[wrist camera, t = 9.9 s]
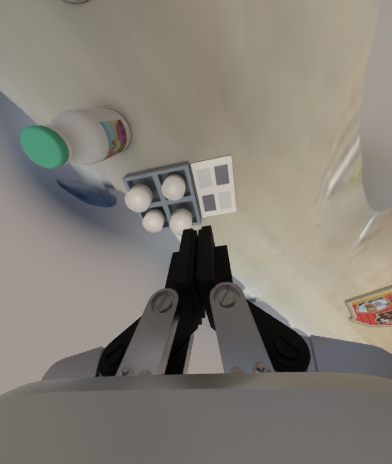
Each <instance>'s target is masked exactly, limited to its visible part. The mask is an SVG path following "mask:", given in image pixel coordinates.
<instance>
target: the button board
mask: <svg viewBox="0 0 392 464" xmlns="http://www.w3.org/2000/svg"><path fill="white" fill-rule="evenodd" d="M172 173H177V174H180V175H181V176H182V177H183V178H184V179H185V181H186V188H185V193H184V195H183V197H182V198H181V199H179V200H176V201H172V200H169V199H167V198H166V197H165V196H164V195H163V193H162V189H161V188H162V184H163V182H164V180H165V179H166V177H167V176H168V175H170V174H172ZM123 182H124V184H125V186H126V188H127V190H128V191H129V190H130V189H131V188H132V187H133V186H134V185H137V184H143V185H146V186H147V187H149V188H150V190H151V191H152V194H153V200H152V202H151V203H150V205H149V207H148V209H147V210H146V211H144V212H137V213H138V215H139V217H140V219H141V221H143V218H144V217H145V215H146V213H147V211H148V210H149V209H152V208H159V209H161V210H162V211H163V213H164V214H165V221H164V224H163V227H162V229H161V230H166V229H170V226H169V223H170V220H171V216H172V214H173V212H174V211H175V210H177V209H180V208H184V209H187V210H188V211H189V212H190V213H191V214H192V225H198V224H201V216H200V212H199V207H198V203H197V198H196V194H195V190H194V185H193V181H192V176H191V172H190V167H189V163H188V162H184V163H179V164H175V165H170V166H165V167H161V168H156V169H152V170H147V171H142V172H138V173H133V174H128V175H126V176H125V177H124V178H123ZM145 230H146V229H145ZM146 232H150V231H148V230H146Z"/></svg>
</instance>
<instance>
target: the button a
mask: <svg viewBox="0 0 392 464" xmlns="http://www.w3.org/2000/svg"><path fill="white" fill-rule="evenodd" d="M152 200H153V194H152V191H151V190H150V188H149V187H147V186H146V185H143V184H137V185H134V186H133V187H132V188H131V189H130V190H129V191H128V193H127V194H126V195H125V203H126V205H127V206H128V208H129V209H131V210H132V211H134V212H144V211H146V210H147V209H148V207H149V205H150V203H151V202H152Z"/></svg>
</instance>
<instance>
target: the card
mask: <svg viewBox="0 0 392 464" xmlns="http://www.w3.org/2000/svg"><path fill="white" fill-rule="evenodd" d="M191 168H192V172H193V177H194V182H195V186H196V191H197V195H198V200H199V204H200V209H201V213H202V217H208V216H214V215H220V214H226V213H233V212H236V202H235V191H234V180H233V169H232V159H231V155H228V156H223V157H219V158H214V159H209V160H205V161H200V162H195V163H191Z"/></svg>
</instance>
